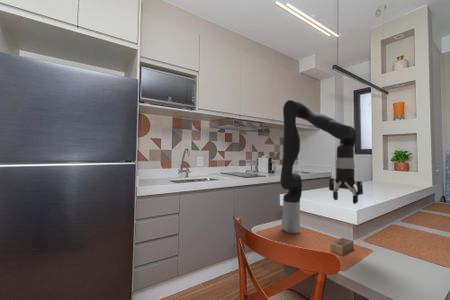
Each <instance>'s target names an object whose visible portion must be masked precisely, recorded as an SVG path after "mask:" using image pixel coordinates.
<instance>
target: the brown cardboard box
mask: <svg viewBox="0 0 450 300" xmlns="http://www.w3.org/2000/svg"><path fill="white" fill-rule="evenodd" d="M329 244H330V246H329V247H330V249H329V250H330V252H333V253H335V254H338V255H341V256H343V255H345V254H347V253H348V252H351V251H352V250H354V241H353V240H350V239H348V238H344V237H341V238H339V239H336V240H334V241H332V242H330V243H329Z"/></svg>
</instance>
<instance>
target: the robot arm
mask: <svg viewBox="0 0 450 300" xmlns="http://www.w3.org/2000/svg"><path fill="white" fill-rule="evenodd" d="M282 112H283V113H282V116H283V144H282V146H283V148H282V151H283V152H282V163H281V164H282V165H281V170H280V171H281V172H280V180H279V181H280V185H281V188H282V189H283V190H286V191H287V190H288V191H287V192H286V193H285V194H284V195H283V199H282V200H283V203H282V205H283V207H282V208H283V210H282V211H283V212H282V213H281V230H282V231H284V232H285V233H289V234H298V233H299V234H300V233H301V198H302V192H303V191H302V188H303V181H302V177H301V175H300V174H298V173H293V167H294V163H295V162H296V160H297V158H298V157H299V154H300V149H301V138H300V135H299V132H298V129H297V123H296V120H297V118H298V119H301V120H304V121H307V122H308V123H310V124H311V125H313V126H314V127H315V128H317V129H319V130H322V131H324V132H326V133H327V134H329V135H331V136H332V137H334V138H336V139H337V140H340V141H339V145H338V146H337V147H336V161H335V176H336V178H333V177H331V178H329V182H328V183H329V184H328V185H329V186H328V190H329V191H332V198H333V200H334V201H337V200H338V199H339V192H338V191H339V190H340V189H342V190H343V189H344V190H349V191H350V192H351V193H352V204H354V205H356V204H357V203H358V202H359V196H360V195H363V194H364V189H363V187H364V186H363V181H361V180H357V181H356V180H355V167H356V166H355V159H354V157H355V155H354V154H355V153H354V152H355V151H354V148H355V143H356V140H357V139H356V138H357V133H356V129H355V128H354V127H353V126H350V125H346V124H343V123H341V122H339V121H337V120H335V119H333V118H332V117H329V116H327V115H325V114H322V113H320V112H316V111H315V110H313V109H311V108H309V107H307V106H306V105H305V104H304V103H302V102H300V101H298V100H294V99H288V100H287V101H286V102H284V105H283V107H282ZM335 183H336V185H335ZM355 186H356V187H355Z"/></svg>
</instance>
